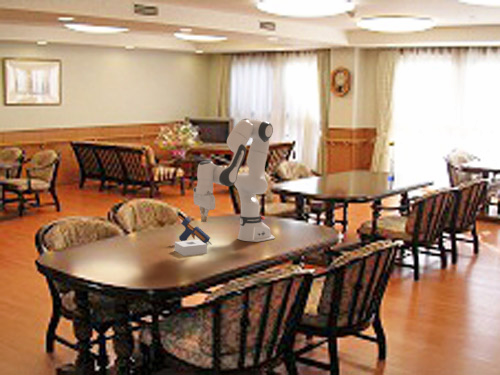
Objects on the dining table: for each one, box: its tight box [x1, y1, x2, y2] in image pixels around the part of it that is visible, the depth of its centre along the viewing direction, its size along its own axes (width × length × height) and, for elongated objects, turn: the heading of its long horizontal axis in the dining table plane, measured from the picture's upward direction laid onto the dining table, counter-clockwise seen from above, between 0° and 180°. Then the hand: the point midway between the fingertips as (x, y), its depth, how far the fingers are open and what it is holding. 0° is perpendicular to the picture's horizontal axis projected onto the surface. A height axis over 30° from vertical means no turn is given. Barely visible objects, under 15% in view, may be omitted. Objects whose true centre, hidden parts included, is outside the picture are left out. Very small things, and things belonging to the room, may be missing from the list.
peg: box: [200, 207, 208, 223], centre depth 366 cm, size 3×3×10 cm
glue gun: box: [178, 215, 212, 245], centre depth 387 cm, size 5×25×12 cm
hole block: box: [174, 239, 208, 257], centre depth 365 cm, size 14×12×5 cm
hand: (204, 215), depth 366 cm, fingers closed on peg, 3 cm apart
